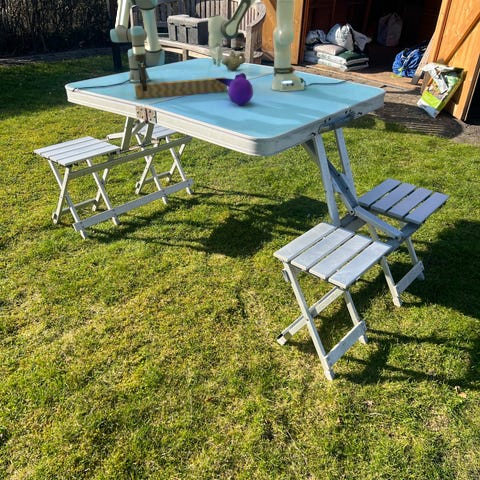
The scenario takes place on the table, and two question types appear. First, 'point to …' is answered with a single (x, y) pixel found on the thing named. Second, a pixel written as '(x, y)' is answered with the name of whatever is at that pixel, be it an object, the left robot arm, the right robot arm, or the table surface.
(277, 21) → the right robot arm
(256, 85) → the table surface
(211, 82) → the bar
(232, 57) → the teapot
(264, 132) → the table surface
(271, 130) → the table surface
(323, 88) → the table surface
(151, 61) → the left robot arm
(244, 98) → the toy
